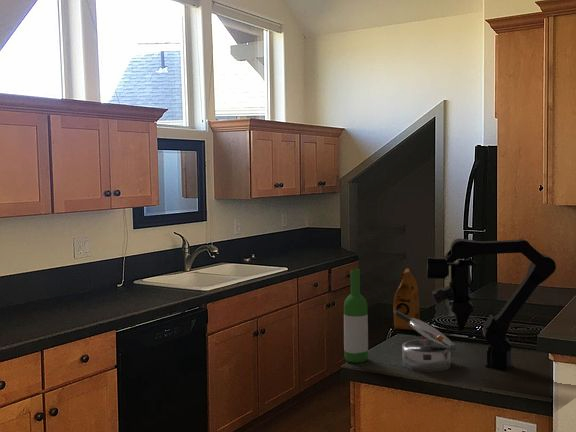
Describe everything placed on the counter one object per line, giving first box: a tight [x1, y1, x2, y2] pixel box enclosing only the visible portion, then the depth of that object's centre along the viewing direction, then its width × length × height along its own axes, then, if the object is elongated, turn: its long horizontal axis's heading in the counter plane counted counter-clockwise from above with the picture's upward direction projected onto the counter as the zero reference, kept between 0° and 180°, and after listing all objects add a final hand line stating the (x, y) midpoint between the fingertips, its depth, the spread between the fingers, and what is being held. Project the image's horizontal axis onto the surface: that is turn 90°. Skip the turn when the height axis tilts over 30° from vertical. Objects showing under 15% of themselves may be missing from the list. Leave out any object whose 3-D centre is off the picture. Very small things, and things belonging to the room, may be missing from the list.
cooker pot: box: [401, 338, 451, 373], centre depth 208 cm, size 15×19×6 cm
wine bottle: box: [343, 268, 369, 364], centre depth 212 cm, size 8×8×30 cm
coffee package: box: [393, 267, 420, 331], centre depth 254 cm, size 10×12×22 cm
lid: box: [395, 310, 457, 351], centre depth 207 cm, size 21×15×2 cm
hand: (460, 328), depth 205 cm, fingers open, 5 cm apart
